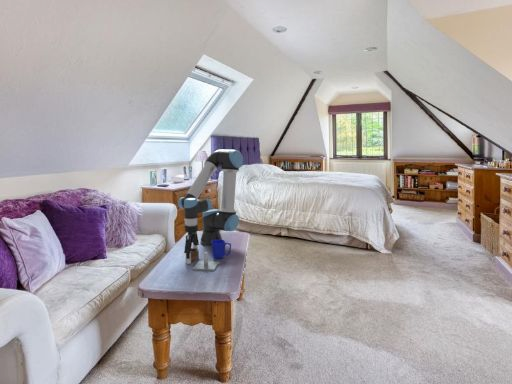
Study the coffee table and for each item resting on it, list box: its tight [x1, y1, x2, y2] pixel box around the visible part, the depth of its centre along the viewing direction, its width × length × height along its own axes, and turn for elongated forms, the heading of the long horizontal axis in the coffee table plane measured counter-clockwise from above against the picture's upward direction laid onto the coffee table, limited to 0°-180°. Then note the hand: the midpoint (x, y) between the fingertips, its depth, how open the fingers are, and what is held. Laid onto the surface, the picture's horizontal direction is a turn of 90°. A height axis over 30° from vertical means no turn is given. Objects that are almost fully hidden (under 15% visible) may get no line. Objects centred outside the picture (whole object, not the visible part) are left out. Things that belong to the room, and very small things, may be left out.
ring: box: [190, 247, 200, 263], centre depth 194 cm, size 7×7×6 cm
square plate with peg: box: [192, 251, 220, 272], centre depth 182 cm, size 12×12×8 cm
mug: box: [211, 239, 232, 260], centre depth 197 cm, size 8×12×10 cm
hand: (192, 259), depth 194 cm, fingers open, 13 cm apart
